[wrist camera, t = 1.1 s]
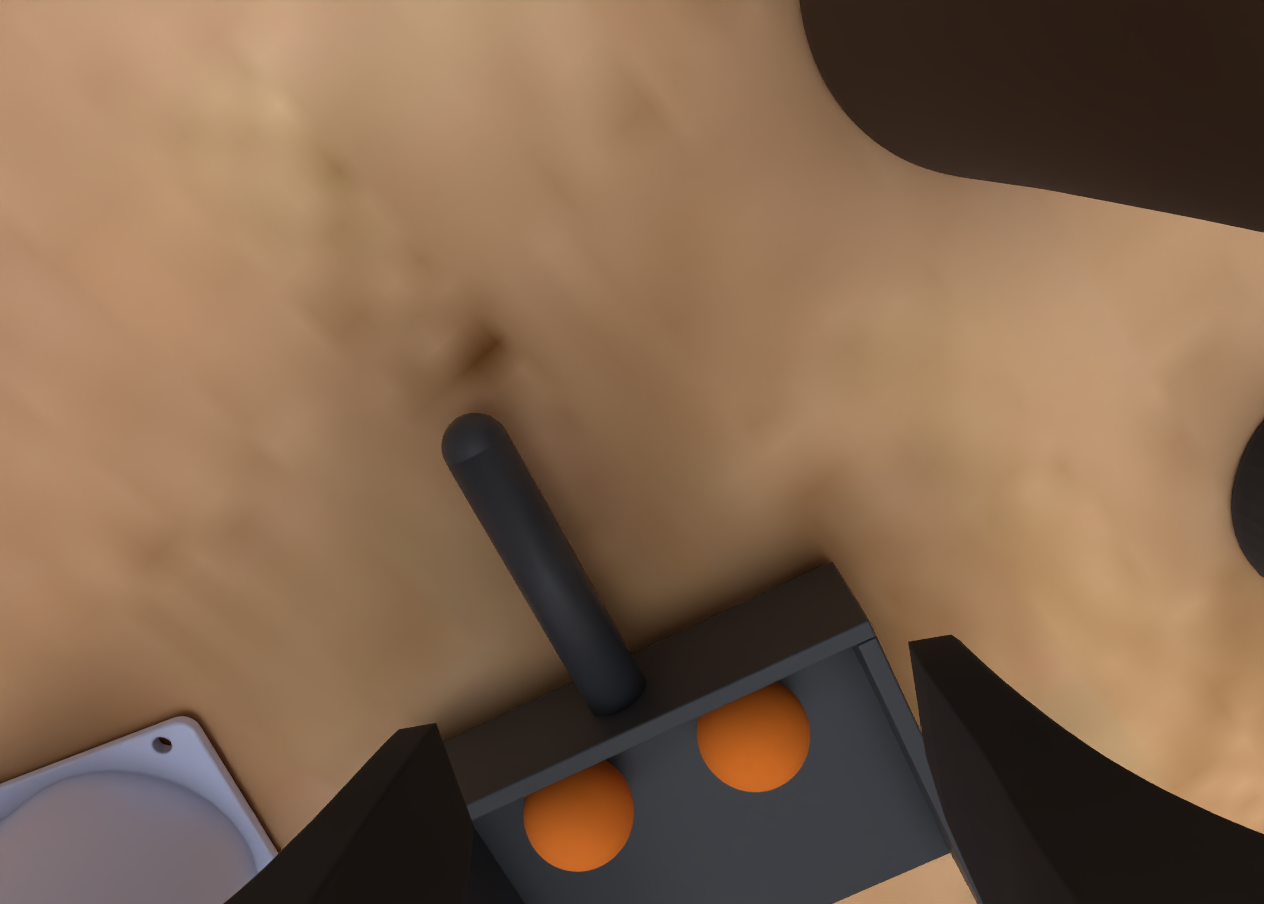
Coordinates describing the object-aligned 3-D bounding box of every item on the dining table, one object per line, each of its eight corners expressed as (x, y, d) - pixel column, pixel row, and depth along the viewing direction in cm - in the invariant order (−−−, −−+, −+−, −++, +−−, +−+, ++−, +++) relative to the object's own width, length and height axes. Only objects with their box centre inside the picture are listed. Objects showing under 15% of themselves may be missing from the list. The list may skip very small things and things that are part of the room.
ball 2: (722, 791, 27) (717, 821, 24) (685, 688, 28) (675, 706, 25) (824, 756, 27) (831, 783, 24) (785, 653, 27) (786, 666, 24)
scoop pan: (960, 837, 30) (1015, 936, 26) (579, 1003, 31) (579, 1120, 27) (700, 279, 24) (722, 303, 20) (249, 505, 25) (191, 567, 22)
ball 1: (558, 865, 28) (533, 903, 25) (523, 762, 28) (494, 788, 25) (656, 831, 27) (642, 866, 24) (619, 729, 28) (601, 751, 25)
